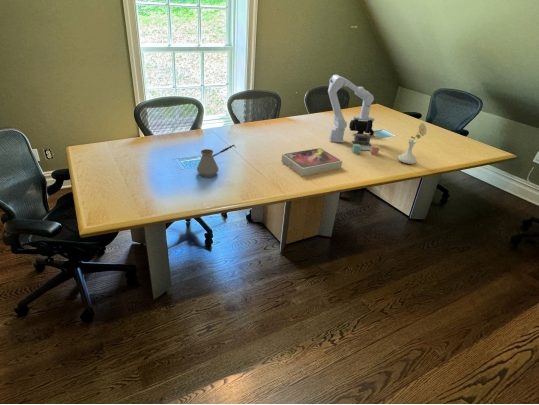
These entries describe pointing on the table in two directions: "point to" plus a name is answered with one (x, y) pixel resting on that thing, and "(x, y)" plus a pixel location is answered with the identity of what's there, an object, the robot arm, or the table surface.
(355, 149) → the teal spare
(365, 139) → the block
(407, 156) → the flower in vase
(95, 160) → the table surface
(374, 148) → the salmon pink block
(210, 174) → the coffee pot
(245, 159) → the table surface
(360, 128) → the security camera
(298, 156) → the product packaging
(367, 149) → the pad
